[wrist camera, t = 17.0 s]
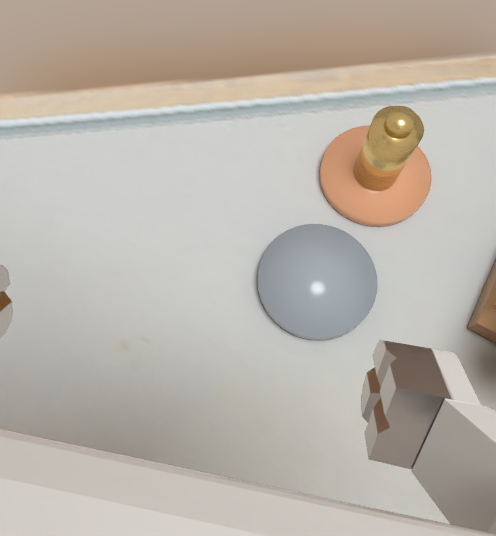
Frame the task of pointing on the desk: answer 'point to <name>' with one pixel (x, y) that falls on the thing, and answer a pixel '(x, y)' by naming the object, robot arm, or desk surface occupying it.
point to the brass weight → (387, 147)
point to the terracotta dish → (366, 201)
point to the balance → (486, 309)
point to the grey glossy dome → (316, 282)
